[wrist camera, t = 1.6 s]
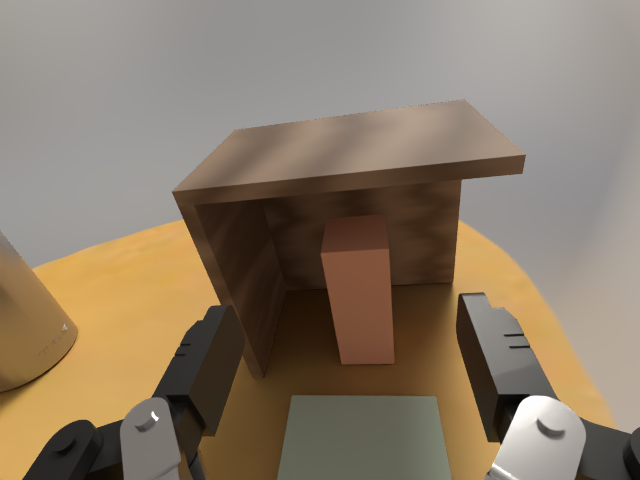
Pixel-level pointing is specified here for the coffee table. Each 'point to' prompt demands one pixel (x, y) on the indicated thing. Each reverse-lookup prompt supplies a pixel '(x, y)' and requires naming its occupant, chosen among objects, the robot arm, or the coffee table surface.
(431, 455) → the sage mat
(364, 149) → the walnut box
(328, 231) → the terracotta block
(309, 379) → the coffee table surface
